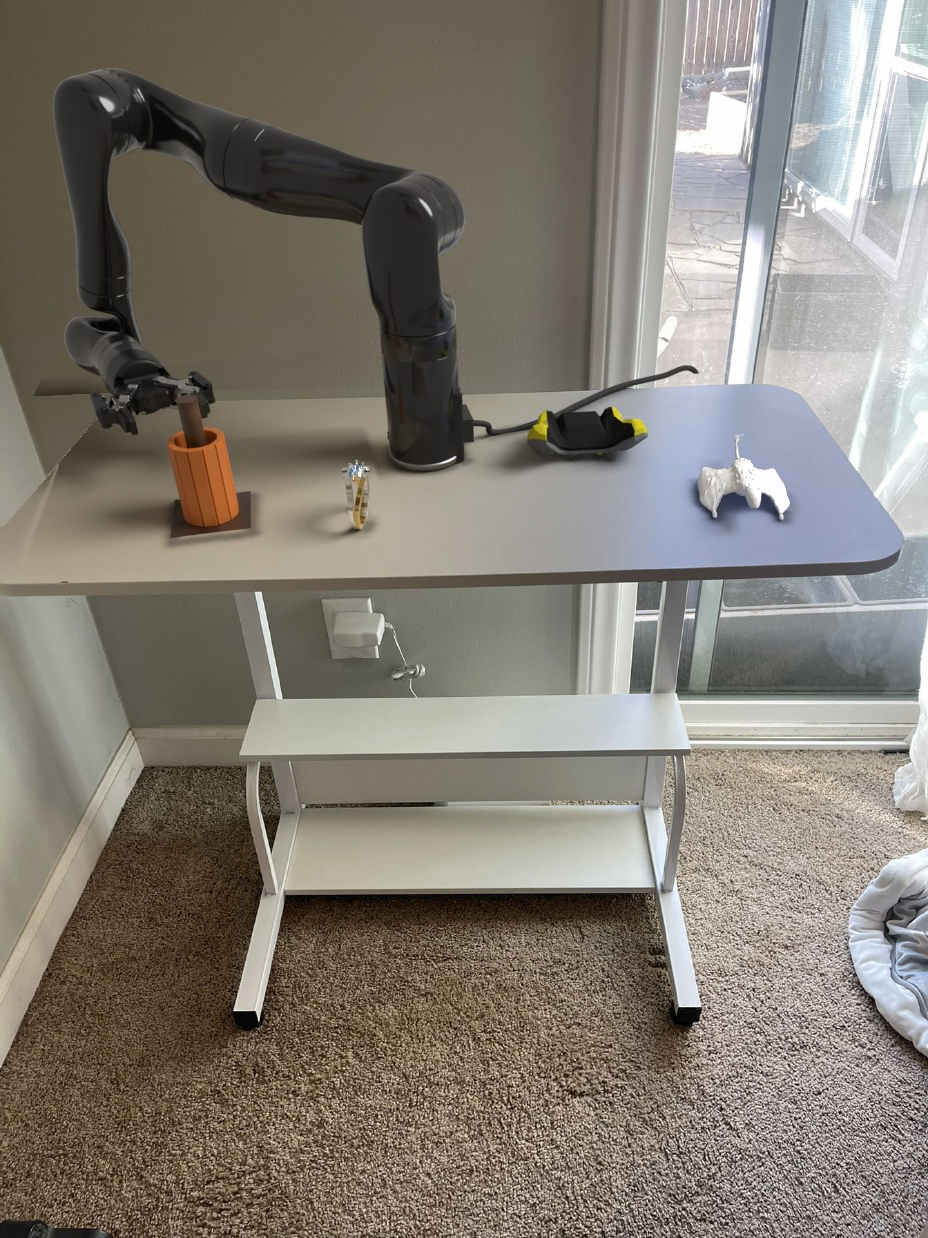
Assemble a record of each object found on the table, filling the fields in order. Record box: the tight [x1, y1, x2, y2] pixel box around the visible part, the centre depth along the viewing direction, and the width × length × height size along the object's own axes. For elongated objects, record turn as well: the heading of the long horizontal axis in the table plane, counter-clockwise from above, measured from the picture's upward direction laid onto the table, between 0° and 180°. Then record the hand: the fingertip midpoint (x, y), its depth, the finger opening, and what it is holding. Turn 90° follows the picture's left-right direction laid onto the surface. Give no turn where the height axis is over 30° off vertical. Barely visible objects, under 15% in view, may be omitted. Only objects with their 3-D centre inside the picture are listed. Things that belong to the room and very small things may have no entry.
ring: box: [341, 459, 371, 531], centre depth 103 cm, size 7×3×8 cm, turn 171°
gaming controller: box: [526, 405, 649, 459], centre depth 118 cm, size 15×6×10 cm
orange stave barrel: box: [166, 426, 239, 527], centre depth 105 cm, size 6×6×10 cm
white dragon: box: [697, 433, 791, 521], centre depth 108 cm, size 18×10×4 cm, turn 174°
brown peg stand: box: [170, 394, 252, 539], centre depth 104 cm, size 9×9×15 cm
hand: (169, 419), depth 110 cm, fingers open, 8 cm apart
